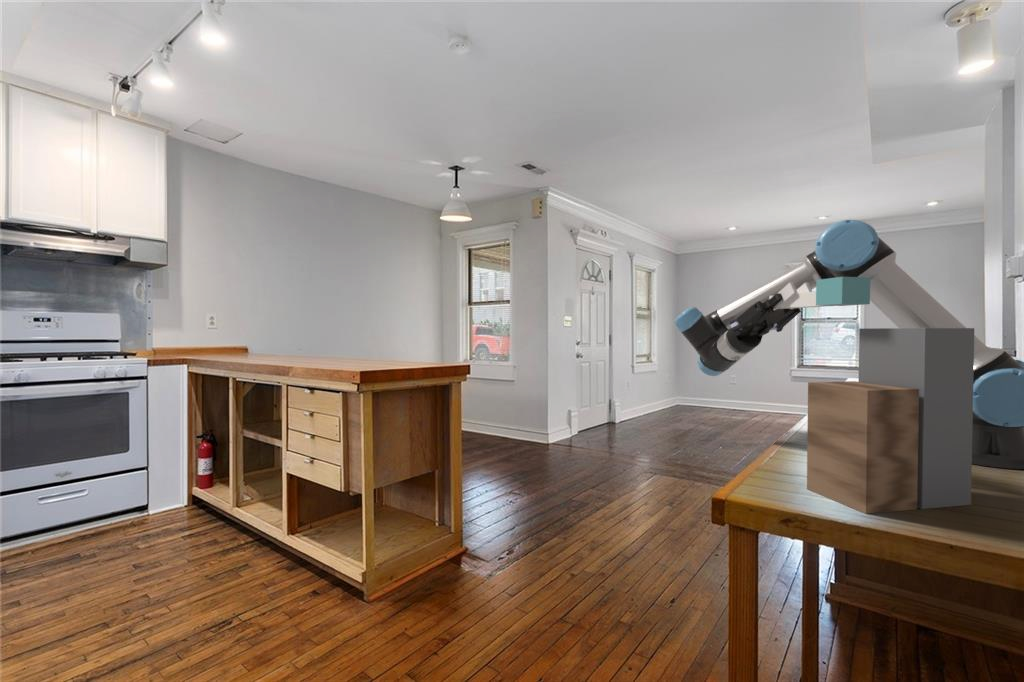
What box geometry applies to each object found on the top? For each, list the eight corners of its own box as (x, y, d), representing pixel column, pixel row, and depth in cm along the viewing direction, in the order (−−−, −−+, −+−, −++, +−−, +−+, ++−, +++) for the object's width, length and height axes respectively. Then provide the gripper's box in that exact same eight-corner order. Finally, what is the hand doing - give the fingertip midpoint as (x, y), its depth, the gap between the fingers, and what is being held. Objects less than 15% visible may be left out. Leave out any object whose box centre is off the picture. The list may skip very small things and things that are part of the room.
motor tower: (900, 482, 92) (903, 328, 91) (970, 504, 80) (974, 328, 79) (857, 485, 90) (859, 328, 89) (922, 508, 78) (925, 328, 77)
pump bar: (786, 309, 109) (787, 287, 108) (869, 304, 88) (870, 277, 88) (763, 308, 108) (763, 286, 107) (841, 303, 87) (842, 276, 87)
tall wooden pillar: (852, 485, 90) (854, 381, 89) (917, 509, 78) (919, 389, 77) (806, 489, 88) (808, 382, 87) (865, 513, 76) (867, 390, 76)
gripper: (772, 353, 120) (841, 302, 100) (714, 353, 118) (773, 301, 97) (762, 327, 124) (827, 274, 103) (706, 327, 121) (761, 272, 101)
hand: (801, 287), depth 100 cm, fingers closed on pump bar, 3 cm apart
